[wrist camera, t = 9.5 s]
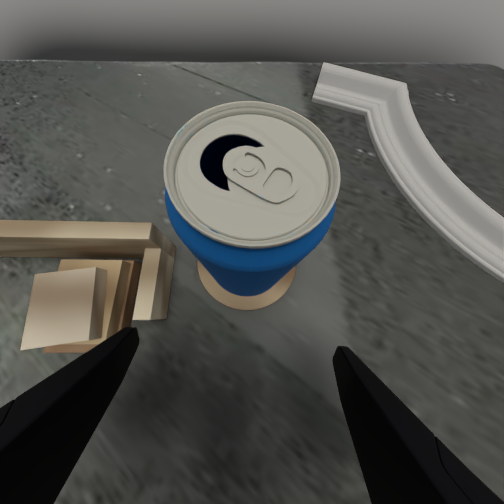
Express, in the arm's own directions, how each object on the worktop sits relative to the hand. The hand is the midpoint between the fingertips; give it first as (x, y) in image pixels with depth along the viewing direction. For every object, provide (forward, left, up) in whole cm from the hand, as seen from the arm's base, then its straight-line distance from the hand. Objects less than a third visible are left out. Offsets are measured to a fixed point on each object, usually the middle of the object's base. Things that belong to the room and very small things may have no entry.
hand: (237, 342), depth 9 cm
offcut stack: (+2, +12, -8) cm, 14 cm away
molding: (+14, -20, -9) cm, 26 cm away
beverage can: (+6, 0, -8) cm, 10 cm away
